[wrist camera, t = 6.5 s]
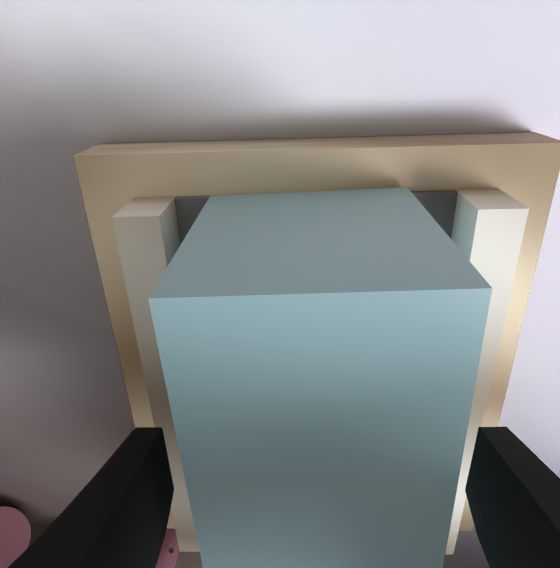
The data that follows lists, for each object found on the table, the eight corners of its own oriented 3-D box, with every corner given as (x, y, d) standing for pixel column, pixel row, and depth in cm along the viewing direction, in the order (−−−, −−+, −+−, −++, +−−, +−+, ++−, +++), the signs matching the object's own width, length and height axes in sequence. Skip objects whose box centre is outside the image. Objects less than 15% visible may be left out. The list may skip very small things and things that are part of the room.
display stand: (459, 493, 17) (488, 574, 14) (168, 492, 18) (145, 570, 15) (534, 132, 11) (607, 156, 9) (98, 144, 12) (40, 170, 9)
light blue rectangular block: (383, 513, 15) (419, 703, 11) (248, 514, 15) (229, 700, 11) (407, 187, 10) (492, 287, 6) (210, 195, 11) (148, 298, 6)
